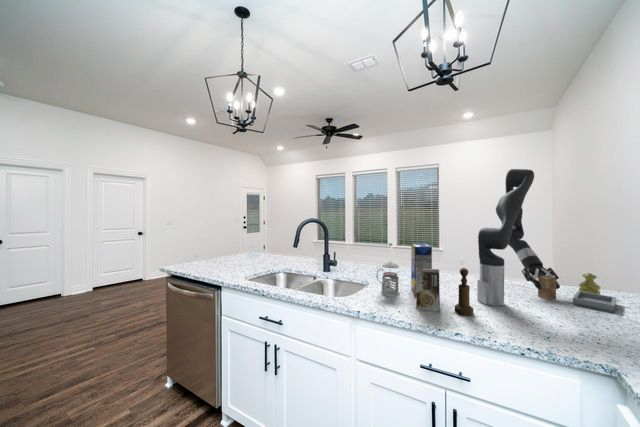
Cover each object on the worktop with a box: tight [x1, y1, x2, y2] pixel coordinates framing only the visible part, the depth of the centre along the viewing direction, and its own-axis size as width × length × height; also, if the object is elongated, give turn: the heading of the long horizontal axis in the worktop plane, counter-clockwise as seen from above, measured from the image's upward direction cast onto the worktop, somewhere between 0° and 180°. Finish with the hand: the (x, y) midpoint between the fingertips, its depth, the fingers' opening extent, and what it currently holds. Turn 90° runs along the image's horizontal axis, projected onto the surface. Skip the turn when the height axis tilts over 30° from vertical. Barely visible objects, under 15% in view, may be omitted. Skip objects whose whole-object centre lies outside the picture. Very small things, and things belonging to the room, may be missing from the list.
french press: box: [375, 242, 401, 297], centre depth 131 cm, size 10×12×25 cm
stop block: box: [537, 275, 557, 301], centre depth 123 cm, size 4×4×10 cm
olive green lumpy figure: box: [578, 272, 601, 295], centre depth 129 cm, size 7×7×10 cm
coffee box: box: [415, 268, 441, 312], centre depth 111 cm, size 9×6×16 cm
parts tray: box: [572, 290, 617, 314], centre depth 115 cm, size 15×12×3 cm
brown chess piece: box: [454, 267, 474, 317], centre depth 106 cm, size 7×6×18 cm
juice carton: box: [410, 243, 433, 298], centre depth 130 cm, size 12×8×24 cm, turn 169°
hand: (549, 288), depth 122 cm, fingers open, 8 cm apart
